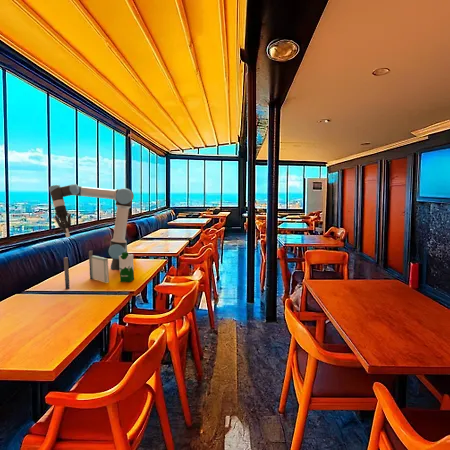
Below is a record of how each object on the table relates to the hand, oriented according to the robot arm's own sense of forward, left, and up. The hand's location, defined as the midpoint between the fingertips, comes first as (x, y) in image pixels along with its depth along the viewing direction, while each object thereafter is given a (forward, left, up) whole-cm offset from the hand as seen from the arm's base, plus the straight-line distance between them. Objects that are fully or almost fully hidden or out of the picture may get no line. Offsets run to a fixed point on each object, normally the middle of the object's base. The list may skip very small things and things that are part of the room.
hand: (68, 237), depth 250 cm
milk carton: (-19, +49, -29) cm, 60 cm away
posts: (+6, +31, -29) cm, 43 cm away
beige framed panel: (-6, +36, -28) cm, 46 cm away
